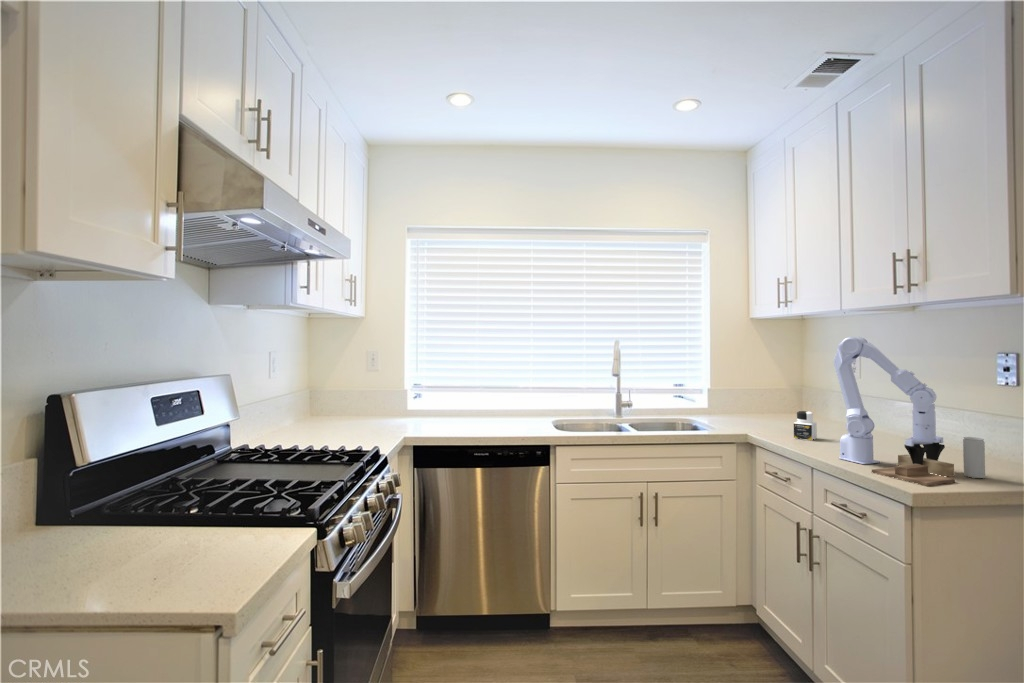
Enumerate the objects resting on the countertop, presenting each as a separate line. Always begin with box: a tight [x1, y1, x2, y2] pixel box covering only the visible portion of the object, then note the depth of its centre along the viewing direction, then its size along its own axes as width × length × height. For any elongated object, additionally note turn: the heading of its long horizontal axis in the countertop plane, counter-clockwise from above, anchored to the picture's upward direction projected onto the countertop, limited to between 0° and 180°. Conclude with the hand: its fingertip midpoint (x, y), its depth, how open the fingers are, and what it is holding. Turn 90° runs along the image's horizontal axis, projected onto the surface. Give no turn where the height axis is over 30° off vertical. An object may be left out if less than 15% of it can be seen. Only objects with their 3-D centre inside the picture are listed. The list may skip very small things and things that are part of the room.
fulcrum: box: [871, 464, 956, 487], centre depth 150 cm, size 16×12×4 cm
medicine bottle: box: [793, 410, 818, 441], centre depth 212 cm, size 7×7×12 cm
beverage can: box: [962, 436, 986, 479], centre depth 149 cm, size 5×5×12 cm
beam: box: [897, 454, 955, 477], centre depth 157 cm, size 14×4×4 cm, turn 16°
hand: (924, 466), depth 157 cm, fingers open, 6 cm apart
